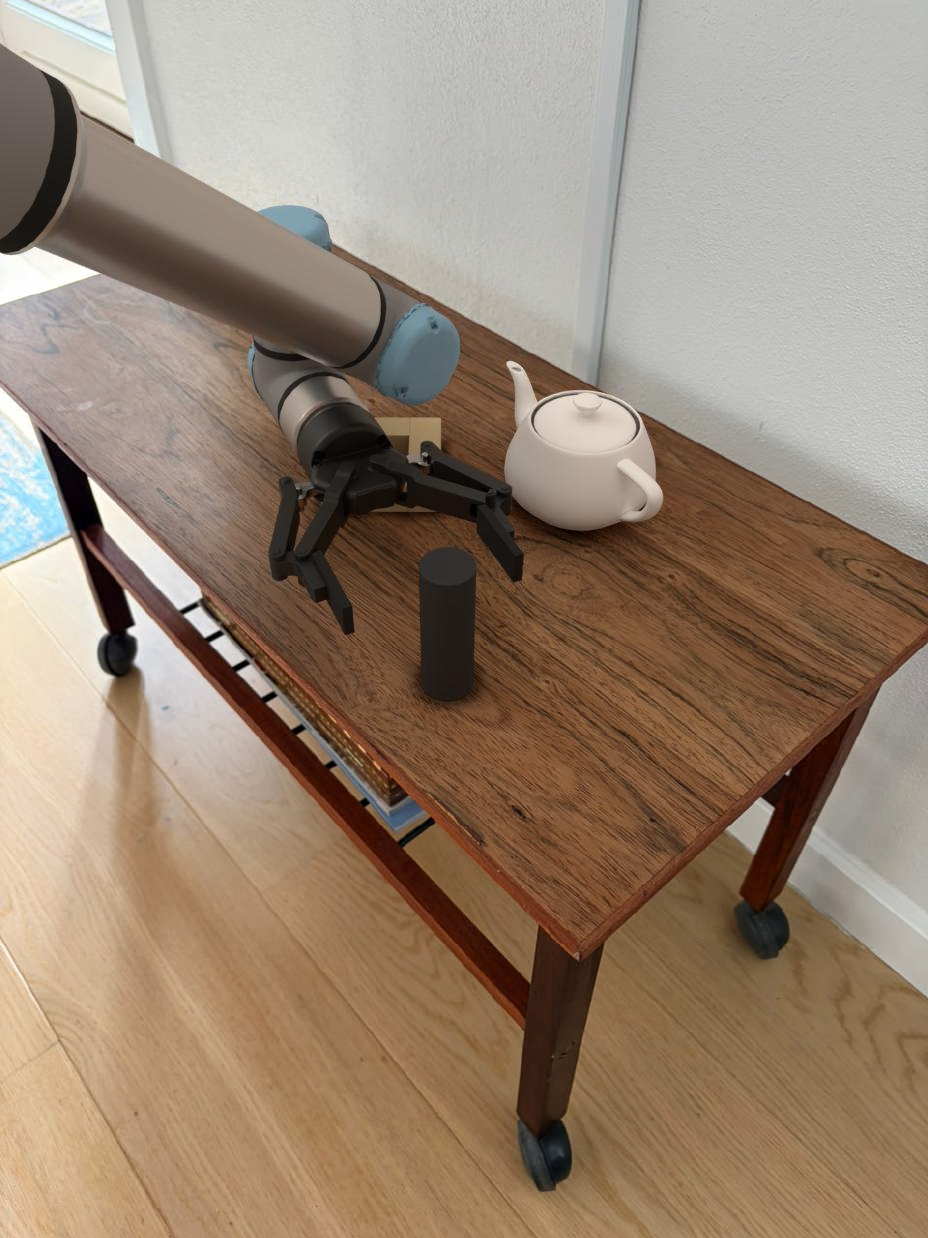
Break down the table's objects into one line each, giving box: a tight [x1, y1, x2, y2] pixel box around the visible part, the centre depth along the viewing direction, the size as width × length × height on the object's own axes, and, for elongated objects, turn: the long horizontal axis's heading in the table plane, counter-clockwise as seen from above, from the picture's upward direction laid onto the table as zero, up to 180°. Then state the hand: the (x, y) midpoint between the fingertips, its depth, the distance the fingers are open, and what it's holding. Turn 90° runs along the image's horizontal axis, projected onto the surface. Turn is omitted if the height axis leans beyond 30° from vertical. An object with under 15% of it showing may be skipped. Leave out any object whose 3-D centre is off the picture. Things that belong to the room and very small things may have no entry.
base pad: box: [320, 416, 442, 513], centre depth 96 cm, size 11×11×3 cm
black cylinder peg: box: [417, 546, 478, 702], centre depth 74 cm, size 4×4×12 cm
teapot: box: [503, 360, 664, 532], centre depth 91 cm, size 22×14×11 cm, turn 33°
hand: (436, 594), depth 75 cm, fingers open, 13 cm apart
